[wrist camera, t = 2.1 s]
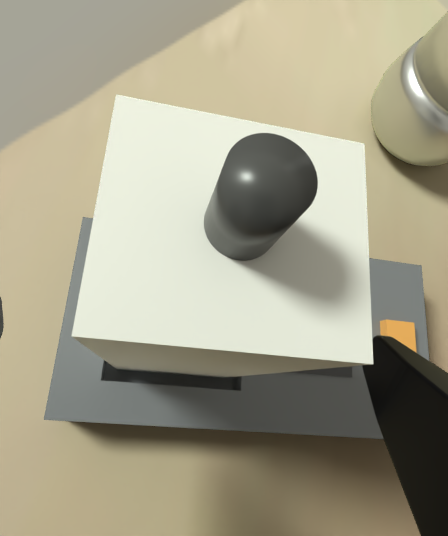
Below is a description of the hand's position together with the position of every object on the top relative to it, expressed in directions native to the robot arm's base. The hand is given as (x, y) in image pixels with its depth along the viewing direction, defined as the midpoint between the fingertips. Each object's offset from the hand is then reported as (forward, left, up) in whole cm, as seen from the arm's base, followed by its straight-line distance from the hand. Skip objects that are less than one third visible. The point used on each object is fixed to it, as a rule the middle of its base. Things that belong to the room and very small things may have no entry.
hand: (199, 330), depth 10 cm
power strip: (+3, -3, -9) cm, 10 cm away
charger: (+1, 0, -8) cm, 8 cm away
